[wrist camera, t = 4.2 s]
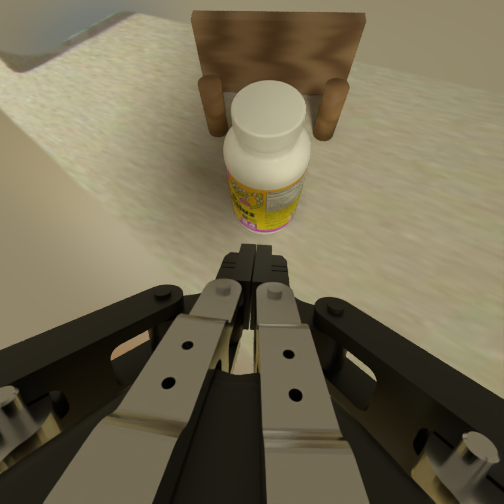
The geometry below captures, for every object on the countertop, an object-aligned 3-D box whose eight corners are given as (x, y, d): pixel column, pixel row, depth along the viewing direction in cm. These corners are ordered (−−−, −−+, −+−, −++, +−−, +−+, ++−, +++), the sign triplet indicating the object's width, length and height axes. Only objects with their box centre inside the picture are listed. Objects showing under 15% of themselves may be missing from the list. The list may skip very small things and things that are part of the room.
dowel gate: (332, 126, 31) (348, 78, 26) (333, 141, 30) (350, 95, 25) (210, 121, 32) (199, 74, 26) (207, 136, 31) (196, 90, 26)
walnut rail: (341, 87, 33) (364, 12, 26) (341, 95, 33) (366, 22, 25) (207, 83, 34) (193, 10, 27) (206, 91, 34) (190, 19, 26)
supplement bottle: (225, 196, 28) (199, 86, 16) (278, 175, 29) (292, 56, 17) (248, 246, 26) (238, 164, 14) (305, 223, 27) (343, 125, 15)
